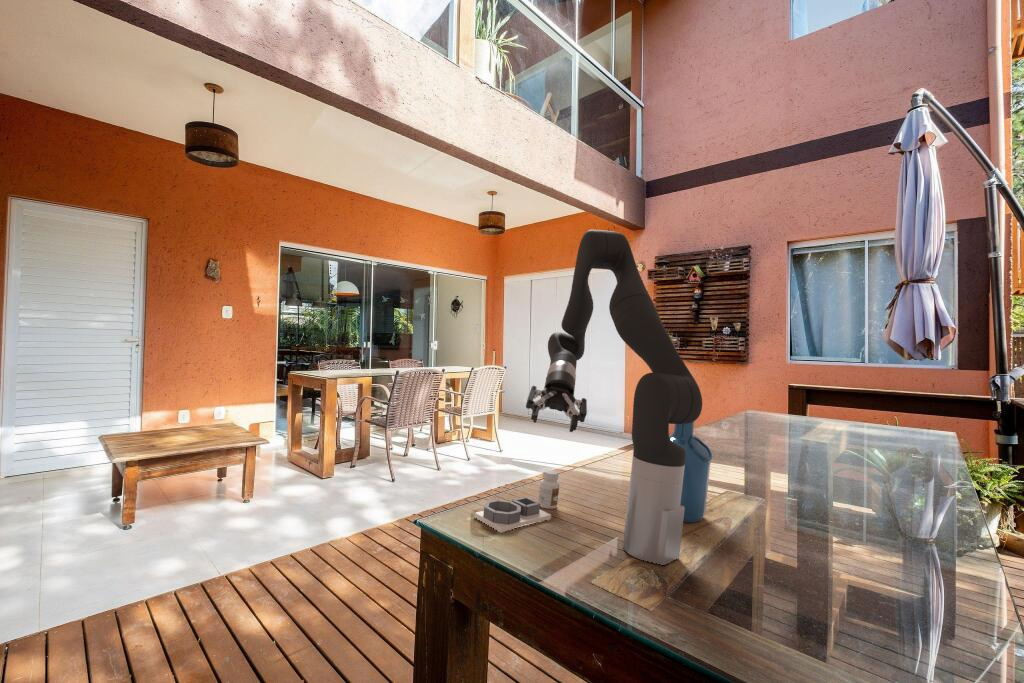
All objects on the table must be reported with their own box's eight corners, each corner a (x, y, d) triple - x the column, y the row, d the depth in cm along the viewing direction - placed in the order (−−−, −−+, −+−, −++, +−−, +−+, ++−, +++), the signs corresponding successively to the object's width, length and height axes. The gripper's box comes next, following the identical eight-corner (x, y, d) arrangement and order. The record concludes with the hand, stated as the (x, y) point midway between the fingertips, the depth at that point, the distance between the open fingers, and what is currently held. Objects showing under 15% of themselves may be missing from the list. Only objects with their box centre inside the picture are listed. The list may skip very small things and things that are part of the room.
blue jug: (634, 507, 107) (648, 383, 107) (663, 499, 116) (676, 384, 116) (689, 529, 97) (704, 391, 97) (716, 519, 106) (730, 392, 106)
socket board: (550, 519, 94) (552, 505, 94) (500, 532, 84) (502, 516, 84) (523, 506, 99) (525, 493, 99) (474, 517, 90) (476, 502, 90)
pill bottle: (555, 510, 99) (559, 475, 99) (536, 507, 100) (540, 472, 100) (557, 504, 103) (561, 471, 103) (539, 500, 104) (542, 467, 104)
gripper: (536, 363, 113) (525, 405, 100) (591, 376, 112) (588, 420, 99) (531, 385, 118) (520, 428, 104) (584, 398, 117) (580, 443, 103)
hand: (553, 424), depth 102 cm, fingers open, 8 cm apart
